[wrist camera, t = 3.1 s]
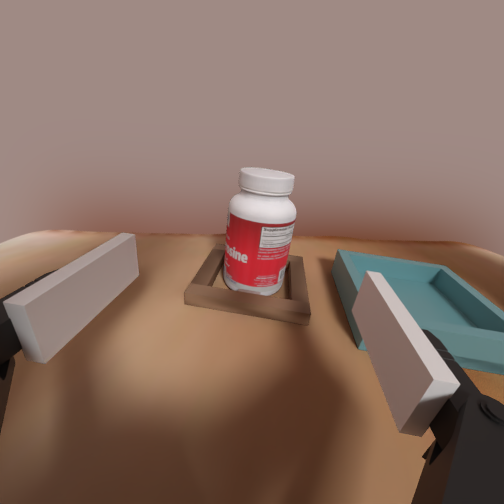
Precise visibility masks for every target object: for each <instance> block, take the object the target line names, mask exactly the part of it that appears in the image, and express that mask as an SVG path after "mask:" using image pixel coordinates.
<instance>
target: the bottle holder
mask: <svg viewBox="0 0 504 504" xmlns="http://www.w3.org/2000/svg"><path fill="white" fill-rule="evenodd" d="M224 258H225V245H222V244H216V245H215V247H214V248H213V250H212V251H211V253H210V254H209V256H208V257H207V259H206V260H205V262H204V264H203V265H202V267H201V268H200V270H199V271H198V273H197V274H196V276H195V277H194V279H193V280H192V282H191V284H190V285H189V287H188V288H187V290H186V291H185V304H187V305H193V306H198V307H204V308H210V309H216V310H221V311H227V312H233V313H239V314H245V315H250V316H256V317H262V318H268V319H274V320H279V321H285V322H291V323H297V324H302V325H308V323H309V319H310V315H311V312H310V305H309V298H308V291H307V285H306V278H305V271H304V264H303V258H302V257H299V256H293V255H288V258H287V263H286V268H285V269H288V274H289V299H283V298H277V297H271V296H265V295H260V294H261V292H257V291H251V290H245V289H238V291H235V290H229V289H223V288H217V287H212V285H213V283H214V281H215V279H216V277H217V275H218V273H219V271H220V269H221V267H222V265H223V263H224Z"/></svg>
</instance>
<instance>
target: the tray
mask: <svg viewBox="0 0 504 504" xmlns="http://www.w3.org/2000/svg"><path fill="white" fill-rule="evenodd" d="M366 271H372V272H378V273H381V274H382V275H383V277H384V278H385V280H386V281H387V282H388V284H389V285H390V287H391V288H392V289H393V291H394V292H395V294H396V295H397V296H398V298H399V299H400V301H401V302H402V303H403V305H404V306H405V308H406V309H407V310H408V312H409V313H410V315H411V316H412V317H413V319H414V320H415V321H416V323H417V324H418V326H419V327H420V328H421V329H425V330H428V331H430V332H431V333H432V334H433V335H435V336H436V337H437V338H438V339H439V340H440V341H441V342H442V343H443V345H444V346H445V347H446V349H447V350H448V352H449V353H450V354H451V355H452V356H453V358H454V359H455V361H456V362H457V363H458V364H459V365H460V367H462V368H467V369H473V370H479V371H484V372H490V373H496V374H501V375H504V312H503V311H502V310H501V309H499V308H498V307H497V306H496V305H494V304H493V303H492V302H491V301H489V300H488V299H487V298H485V297H484V296H483V295H482V294H480V293H479V292H478V291H477V290H475V289H474V288H473V287H472V286H470V285H469V284H468V283H467V282H465V281H464V280H463V279H462V278H460V277H459V276H458V275H456V274H455V273H454V272H453V271H451V270H450V269H449V268H448V267H446V266H444V265H437V264H431V263H424V262H418V261H411V260H405V259H398V258H392V257H385V256H378V255H372V254H365V253H359V252H352V251H346V250H339V249H338V250H337V254H336V257H335V260H334V264H333V267H332V270H331V273H332V276H333V278H334V281H335V284H336V287H337V290H338V293H339V296H340V299H341V301H342V304H343V307H344V310H345V313H346V316H347V319H348V322H349V324H350V327H351V330H352V333H353V336H354V339H355V342H356V345H357V347H358V349H360V350H365V351H367V349H366V346H365V344H364V341H363V339H362V336H361V334H360V331H359V328H358V326H357V323H356V321H355V318H354V316H353V313H352V308H353V305H354V303H355V300H356V297H357V295H358V292H359V289H360V286H361V284H362V281H363V278H364V276H365V273H366Z"/></svg>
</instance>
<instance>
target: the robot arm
mask: <svg viewBox="0 0 504 504" xmlns="http://www.w3.org/2000/svg"><path fill="white" fill-rule="evenodd" d="M138 276H139V268H138V258H137V248H136V239H135V234H129V233H123V232H122V233H121V234H119V235H117V236H115V237H114V238H112V239H110V240H108V241H107V242H105V243H103V244H102V245H100V246H98V247H96V248H95V249H93V250H91V251H90V252H88V253H86V254H84V255H83V256H81V257H79V258H77V259H76V260H74V261H72V262H71V263H69V264H67V265H65V266H64V267H62V268H60V269H57V270H55V271H52V272H49V273H46V274H44V275H42V276H41V277H39V278H37V279H35V281H32V282H30V283H28V284H26V285H25V287H21V288H19V289H18V290H16V291H14V292H12V293H11V294H9V295H7V296H5V297H4V298H2V299H0V433H1V428H2V423H3V419H4V414H5V409H6V405H7V400H8V395H9V390H10V386H11V381H12V376H13V371H14V367H15V359H14V357H13V356H14V355H15V354H16V353H17V352H19V351H20V350H21V349H22V351H23V353H24V356H25V358H26V360H27V361H33V362H38V363H43V364H46V363H47V362H48V361H49V360H50V359H51V358H52V357H53V356H54V355H55V354H56V353H57V352H58V351H60V350H61V349H62V348H63V347H64V346H65V345H66V344H67V343H68V342H69V341H70V340H71V339H72V338H73V337H74V336H75V335H76V334H78V333H79V332H80V331H81V330H82V329H83V328H84V327H85V326H86V325H87V324H88V323H89V322H90V321H91V320H92V319H93V318H94V317H96V316H97V315H98V314H99V313H100V312H101V311H102V310H103V309H104V308H105V307H106V306H107V305H108V304H109V303H110V302H111V301H113V300H114V299H115V298H116V297H117V296H118V295H119V294H120V293H121V292H122V291H123V290H124V289H125V288H126V287H127V286H128V285H129V284H131V283H132V282H133V281H134V280H135V279H136V278H137V277H138ZM352 313H353V316H354V318H355V321H356V323H357V326H358V328H359V331H360V334H361V336H362V339H363V341H364V344H365V346H366V349H367V351H368V354H369V357H370V359H371V362H372V364H373V367H374V369H375V372H376V375H377V377H378V380H379V382H380V385H381V387H382V390H383V392H384V395H385V398H386V400H387V403H388V405H389V408H390V410H391V413H392V416H393V418H394V421H395V423H396V426H397V428H398V431H399V433H404V434H410V435H415V436H420V437H422V436H423V435H424V433H425V432H426V430H427V429H428V428H429V426H430V428H431V430H432V432H433V434H434V436H435V438H436V439H435V441H434V442H433V443H432V444H431V446H430V447H429V448H428V449H427V451H426V452H425V453H424V455H423V456H422V457H423V458H424V459H425V460H426V462H425V465H424V468H423V471H422V473H421V476H420V479H419V482H418V485H417V488H416V491H415V494H414V497H413V500H412V503H411V504H504V405H503V404H501V403H500V402H499V401H497V400H495V399H493V398H491V397H489V396H486V395H483V394H481V393H480V391H479V390H478V389H477V387H476V386H475V385H474V383H473V382H472V381H471V380H470V378H469V377H468V376H467V374H466V373H465V372H464V371H463V369H462V368H461V367H460V365H459V364H458V363H457V362H456V361H455V359H454V358H453V356H452V355H451V354H450V353H449V352H448V350H447V349H446V347H445V346H444V345H443V343H442V342H441V341H440V340H439V339H438V338H437V337H436V336H435V335H433V334H432V333H431V332H430V331H428V330H425V329H421V328H420V327H419V326H418V324H417V323H416V321H415V320H414V319H413V317H412V316H411V315H410V313H409V312H408V310H407V309H406V308H405V306H404V305H403V303H402V302H401V301H400V299H399V298H398V296H397V295H396V294H395V292H394V291H393V289H392V288H391V287H390V285H389V284H388V282H387V281H386V280H385V278H384V277H383V275H382V274H381V273H378V272H372V271H366V273H365V276H364V278H363V281H362V284H361V286H360V289H359V292H358V295H357V297H356V300H355V303H354V305H353V308H352Z"/></svg>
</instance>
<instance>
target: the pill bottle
mask: <svg viewBox="0 0 504 504" xmlns="http://www.w3.org/2000/svg"><path fill="white" fill-rule="evenodd" d="M293 184H294V175H292V174H289V173H286V172H281V171H276V170H271V169H264V168H242V169H241V170H240V175H239V187H240V188H241V192H240V193H238V194H236V195H235V196H233V197H232V199H231V200H230V202H229V208H228V219H227V233H226V245H225V258H224V273H223V275H224V280H225V283H226V284H227V286H228V287H229V288H230V289H232V290H235V291H238V289H245V290H251V291H257V292H261V294H260V295H265V296H269V295H272V294H274V293H276V292H277V291H278V290H279V289H280V288H281V286H282V282H283V278H284V273H285V268H286V263H287V258H288V253H289V248H290V243H291V239H292V234H293V229H294V224H295V220H296V208H295V205H294V204H293V203H292V202H291V201H290V200H289V199H288V196H289V194H291V193H292V190H293Z"/></svg>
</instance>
